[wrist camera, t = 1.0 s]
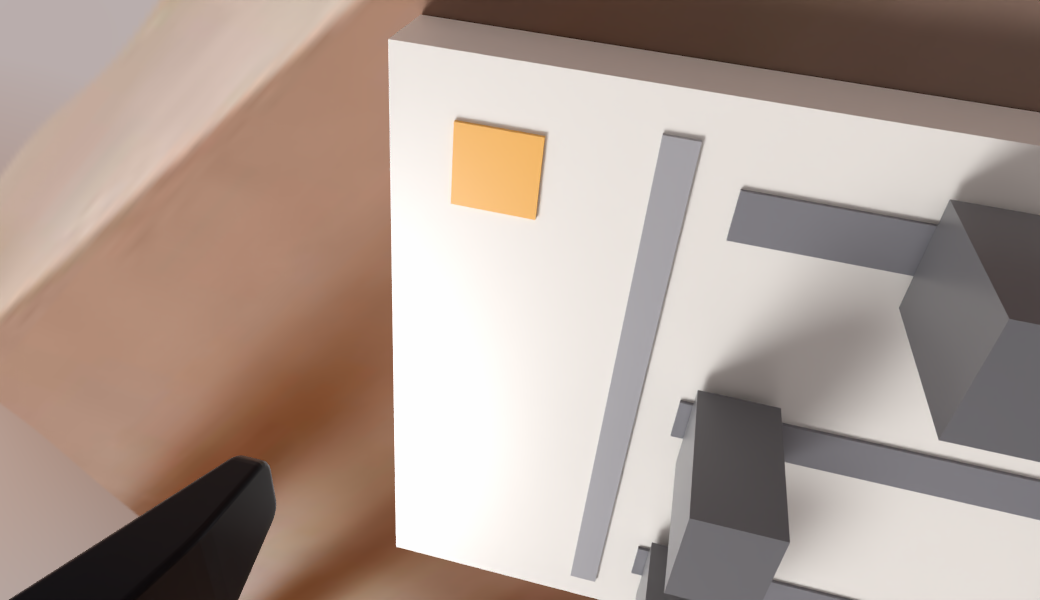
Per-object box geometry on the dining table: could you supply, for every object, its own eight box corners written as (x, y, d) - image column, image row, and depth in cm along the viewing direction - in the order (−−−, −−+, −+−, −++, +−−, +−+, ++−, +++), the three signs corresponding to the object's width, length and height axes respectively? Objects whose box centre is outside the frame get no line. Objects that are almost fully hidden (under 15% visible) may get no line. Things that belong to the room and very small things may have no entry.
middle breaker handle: (780, 408, 18) (789, 542, 15) (752, 480, 20) (755, 616, 17) (697, 389, 19) (689, 518, 15) (675, 462, 20) (663, 593, 17)
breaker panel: (1596, 200, 14) (1712, 258, 12) (1106, 674, 24) (1134, 742, 22) (420, 14, 17) (386, 40, 16) (416, 501, 27) (395, 548, 26)
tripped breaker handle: (1060, 218, 14) (1154, 347, 11) (998, 327, 16) (1064, 467, 13) (949, 198, 15) (1009, 319, 11) (898, 308, 16) (938, 440, 13)
